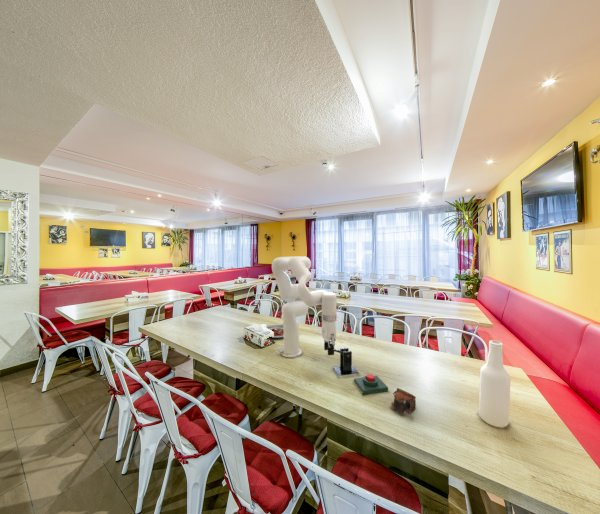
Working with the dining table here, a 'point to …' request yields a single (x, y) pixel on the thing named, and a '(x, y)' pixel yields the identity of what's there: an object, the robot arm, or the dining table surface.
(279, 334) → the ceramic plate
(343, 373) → the switch bracket
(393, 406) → the miniature brown house
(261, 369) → the dining table surface
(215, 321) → the dining table surface
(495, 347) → the alcohol
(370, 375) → the red push button
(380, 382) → the button block
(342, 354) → the switch lever
